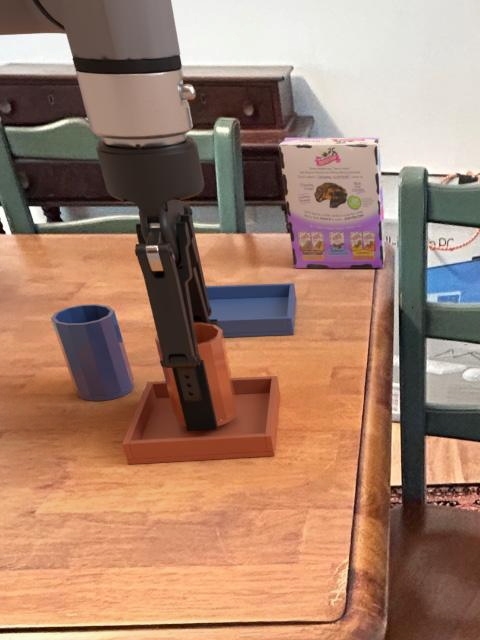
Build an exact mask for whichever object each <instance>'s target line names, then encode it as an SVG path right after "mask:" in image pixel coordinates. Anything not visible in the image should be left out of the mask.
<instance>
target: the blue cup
mask: <svg viewBox="0 0 480 640" xmlns="http://www.w3.org/2000/svg"><path fill="white" fill-rule="evenodd" d="M50 321H51V323H52V327H53V329H54V332H55V335H56V338H57V341H58V344H59V347H60V350H61V352H62V355H63V359H64V363H65V364H66V367H67V370H68V373H69V376H70V378H71V381H72V385H73V388H74V390H75V391H76V394H77V396H78V398H80V399H82V400H85V401H92V402H104V401H105V402H106V401H111V400H114V399H119V398H122V397H124V396H126V395H128V394H129V393H131V392H132V391H133V390H134V389H135V382H134V380H135V379H134V376H133V375H134V374H133V371H132V368H131V365H130V361H129V357H128V354H127V349H126V346H125V343H124V339H123V337H122V333H121V329H120V325H119V321H118V318H117V315H116V311H115V309H113V308H112V307H111V306H110V305H104V304H99V303H93V304H91V303H88V304H78V305H73V306H68V307H65V308H62V309H60V310H57V311H56V312H54V313H53V314H52V315H51V317H50Z"/></svg>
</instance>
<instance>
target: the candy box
mask: <svg viewBox="0 0 480 640" xmlns="http://www.w3.org/2000/svg"><path fill="white" fill-rule="evenodd" d="M380 148H381V145H380V138H379V137H284V139H282V140H281V142H280V143H279V144H278V153H279V154H278V155H279V161H280V167H281V174H282V184H283V191H284V199H285V206H286V213H287V214H286V215H287V221H288V228H289V237H290V244H291V253H292V262H293V264H292V265H293V268H294V269H379V268H380V269H384V266H385V262H386V242H385V212H384V194H383V181H382V165H381V149H380Z"/></svg>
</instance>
